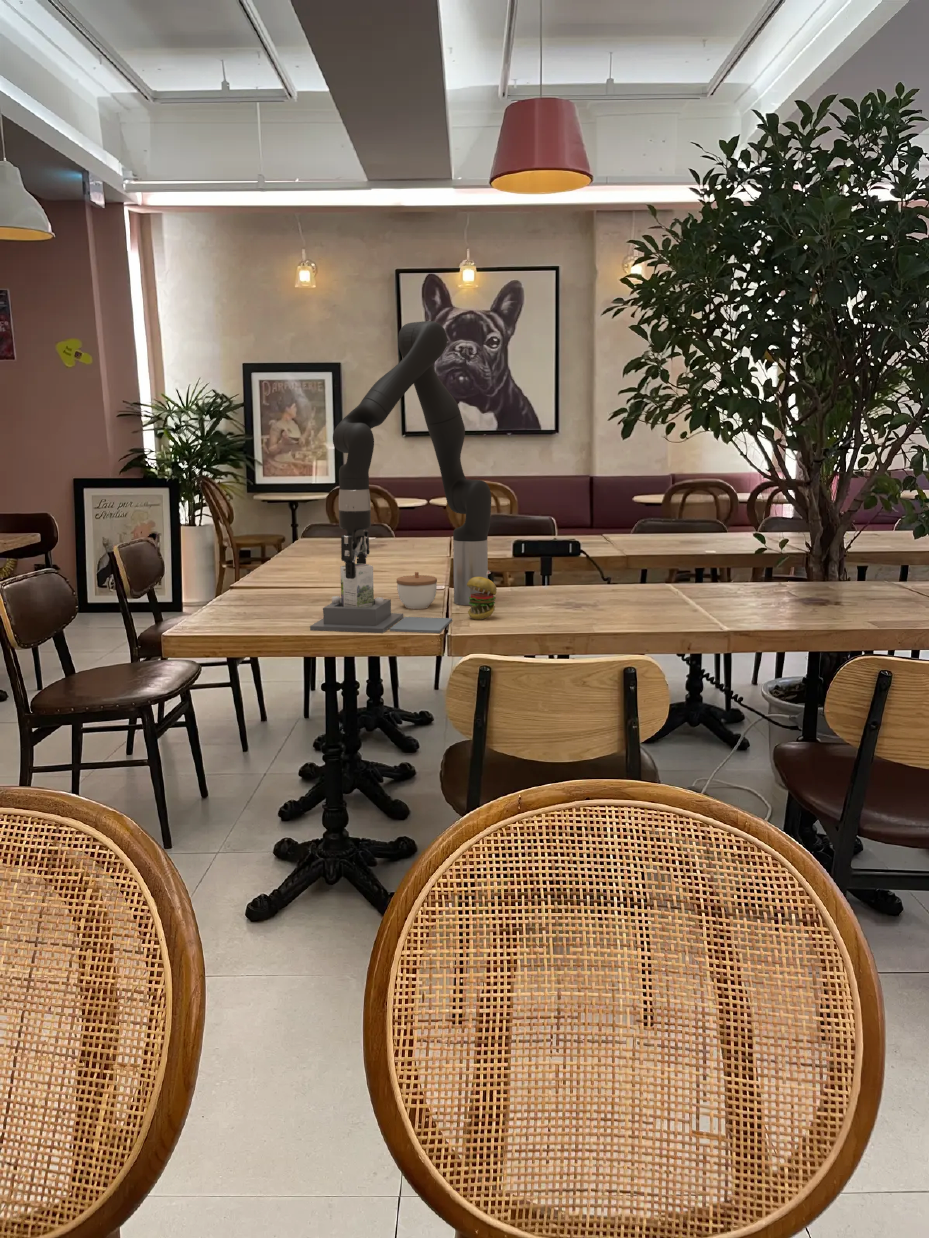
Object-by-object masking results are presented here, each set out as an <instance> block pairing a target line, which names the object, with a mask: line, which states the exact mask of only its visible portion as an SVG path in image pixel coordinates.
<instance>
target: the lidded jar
mask: <svg viewBox="0 0 929 1238" xmlns="http://www.w3.org/2000/svg"><path fill="white" fill-rule="evenodd" d="M437 583H438V579H437V577H436V576H432V575H427V574H426V575H422V574H421V575H420V574H419V572H418V571H415V572H414V575H403V576H399V577H397V578H396V584H397V587H396V588H397V594H398V595H397V596H398V598H399V600H400V602H401V603H402V604H403V605H404V606H405V609H409V610H410V609H411V610H422V609H423V610H424V609H427V608H429V607H430V605H431V604H432V603H433V602H434V600H435V598H436V594H437V587H438V586H437Z"/></svg>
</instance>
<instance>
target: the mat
mask: <svg viewBox="0 0 929 1238" xmlns="http://www.w3.org/2000/svg"><path fill="white" fill-rule="evenodd" d="M452 622H453V618H449V617H425V616H424V617H422V616H419V617H418V616H404V617H403V618H402V619H401V620H400V621H398V622H397V623H396V624H394V625H393V626H392V627H390V628H389V632H399V633H400V632H403V633H424V634H425V633H428V634H429V633H431V634H432V633H433V634H440V633H441V632H442V631H443V630H445V628H446V627H448V625H449V624H451V623H452Z"/></svg>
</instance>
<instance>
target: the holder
mask: <svg viewBox="0 0 929 1238" xmlns="http://www.w3.org/2000/svg"><path fill="white" fill-rule="evenodd" d="M322 616H323V618H321V619H320V620H318V621H316V622H314V623H313V624H311V625H310V626H309V630H310V631H317V632H318V631H321V632H322V631H324V632H351V633H371V634H372V633H374V634H376V633H377V634H384V633H385V632H387V631H388V630H390V628H391V626H392V627H393V626H394V625H395V623H396V624H397V623H398V622H399V620H400V619H401V620H402V619H403V618H404V617H405V615H404V613H399V612H394V613H393V612H392V601H391V598H390V599H387V598H386V599H385V598H384V597H382V596H381V597H380V596H379V597H374V605H373V606H372V607H370V608H367V607H341V595H340V596H339V595H335V596H334V595H333V596H331V603H329V604H327V605H326V606H324V607H322Z"/></svg>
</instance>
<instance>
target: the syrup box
mask: <svg viewBox="0 0 929 1238" xmlns="http://www.w3.org/2000/svg"><path fill="white" fill-rule="evenodd" d="M340 598H341V607H367V608H370V607H372V606H373V605H374V599H375V597H374V566H373V565H372V564H371V565H370V564H368V563H366V564H363V563H357V562H356V563H355V578H354V579H347V578H346V568H345V565H341V566H340Z"/></svg>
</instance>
